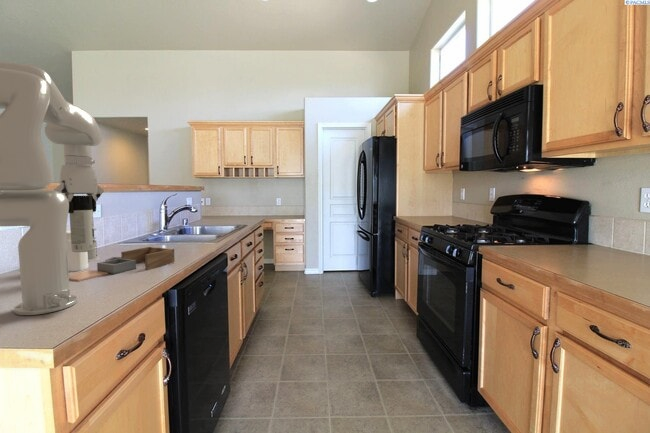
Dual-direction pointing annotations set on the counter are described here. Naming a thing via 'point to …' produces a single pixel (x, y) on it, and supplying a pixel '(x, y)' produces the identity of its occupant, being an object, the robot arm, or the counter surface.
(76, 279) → the pad
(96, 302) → the counter surface
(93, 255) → the french press
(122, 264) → the bin
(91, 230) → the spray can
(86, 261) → the jar
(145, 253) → the cubby
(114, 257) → the crook
